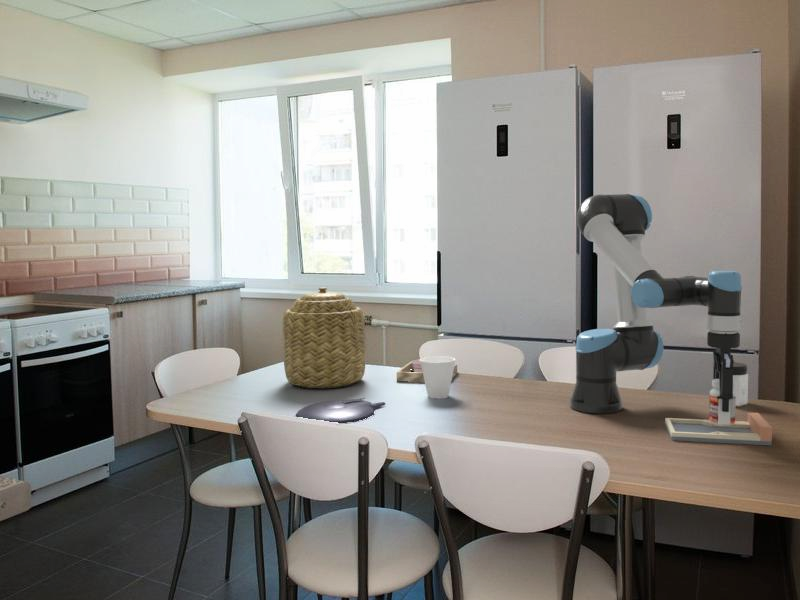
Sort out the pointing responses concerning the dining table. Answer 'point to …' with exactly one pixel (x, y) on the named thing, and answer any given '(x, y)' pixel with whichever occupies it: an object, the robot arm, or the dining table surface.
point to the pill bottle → (715, 404)
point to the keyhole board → (721, 431)
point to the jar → (740, 383)
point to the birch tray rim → (414, 374)
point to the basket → (324, 341)
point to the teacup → (416, 365)
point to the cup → (437, 375)
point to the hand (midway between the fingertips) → (721, 419)
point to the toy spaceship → (340, 410)
